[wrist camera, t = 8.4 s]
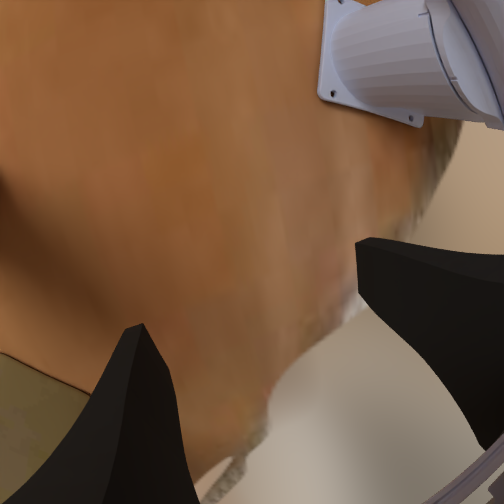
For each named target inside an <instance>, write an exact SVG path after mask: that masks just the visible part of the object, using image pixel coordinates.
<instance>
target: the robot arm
mask: <svg viewBox="0 0 504 504" xmlns="http://www.w3.org/2000/svg"><path fill="white" fill-rule="evenodd" d="M340 1H341V4H340V3H339V2H338V0H325V11H324V24H323V36H322V48H321V59H320V69H319V79H318V89H317V94H318V96H319V97H320V99H322V100H325V101H329V102H333V103H338V104H341V105H345V106H349V107H353V108H356V109H360V110H364V111H367V112H370V113H374V114H377V115H380V116H384V117H387V118H390V119H393V120H396V121H399V122H402V123H405V124H408V125H411V126H414V127H417V128H421V127H422V126H423V122H424V116H429V117H440V118H449V119H457V120H465V121H472V122H485V124H486V126H487V127H488V128H492V129H498V130H503V131H504V0H382V1H379V2H377V3H374V4H371V5H369V6H365V5H363V4H360V3H358V2H356V1H353V0H340ZM331 91H333V93H334V97H331V94H330V93H331ZM409 117H410V120H409ZM355 250H356V262H357V276H358V293H359V294H360V295H361V297H362V298H363V299H364V300H365V302H366V303H367V304H368V305H369V307H370V308H371V309H372V310H373V311H374V312H375V313H376V314H377V315H378V316H379V317H380V318H381V319H382V320H383V321H384V322H385V323H386V324H387V325H388V326H389V327H391V328H392V329H393V330H394V331H395V332H396V333H397V334H398V335H399V336H400V337H401V338H403V339H404V340H405V341H406V342H407V343H408V344H409V345H410V346H411V347H412V348H413V349H414V350H415V351H416V352H417V353H418V354H419V355H420V356H421V357H422V358H423V359H424V360H425V361H426V363H427V364H428V365H429V366H430V367H431V369H432V370H433V371H434V372H435V374H436V375H437V376H438V377H439V379H440V380H441V382H442V383H443V384H444V385H445V387H446V388H447V390H448V391H449V392H450V394H451V395H452V397H453V398H454V400H455V401H456V403H457V405H458V406H459V407H460V409H461V411H462V412H463V414H464V416H465V418H466V419H467V421H468V423H469V425H470V427H471V429H472V430H473V432H474V434H475V436H476V438H477V441H478V443H479V445H480V446H481V447H482V448H483V449H484V450H485V451H486V452H485V453H484V454H482V456H480V457H479V458H478V459H477V460H476V461H475V462H474V463H473V464H472V465H471V466H469V467H468V468H467V469H466V470H465V471H464V472H463V473H461V474H460V475H459V476H458V477H457V478H455V479H454V480H453V481H452V482H451V483H449V484H448V485H447V486H445V487H444V488H443V489H442V490H440V491H439V492H438V493H436V494H435V495H434V496H432V497H431V498H430V499H428V500H427V501H425V502H424V503H423V504H459V503H461V502H462V501H463V500H464V499H465V498H467V497H468V496H469V495H470V494H471V493H472V492H473V491H475V490H476V489H477V488H478V487H479V486H480V485H481V484H482V483H483V482H484V481H485V480H487V479H488V477H490V476H491V475H492V474H493V473H494V472H495V471H496V470H497V468H499V467H500V465H501V464H502V463H503V462H504V255H491V254H476V253H464V252H456V251H450V250H443V249H437V248H431V247H426V246H421V245H415V244H410V243H405V242H400V241H395V240H389V239H382V238H373V237H369V238H366V239H364V240H361V241H359V242H356V243H355ZM488 491H489V492H490V493H491V494H492V495H493V498H492V499H491V500H490V501H489V502H488V503H486V504H504V472H503V473H502V474H501V475H500V476H499V477H498V478H497V479H496V480H495V481H494V482H493V483H492V484H491V486H489V488H488ZM2 504H200V502H199V500H198V497H197V494H196V491H195V488H194V485H193V482H192V479H191V476H190V473H189V470H188V466H187V462H186V458H185V453H184V447H183V441H182V435H181V428H180V421H179V415H178V408H177V401H176V395H175V391H174V387H173V383H172V379H171V375H170V371H169V368H168V367H167V365H166V363H165V361H164V360H163V358H162V356H161V355H160V353H159V351H158V349H157V348H156V346H155V344H154V342H153V340H152V339H151V337H150V335H149V333H148V331H147V329H146V328H145V326H144V324H143V323H142V324H139V325H136V326H133V327H130V328H127V329H125V331H124V332H123V334H122V336H121V338H120V340H119V342H118V344H117V346H116V348H115V350H114V352H113V354H112V356H111V358H110V360H109V362H108V364H107V366H106V368H105V370H104V372H103V374H102V376H101V378H100V380H99V382H98V383H97V385H96V387H95V389H94V391H93V393H92V394H91V396H90V398H89V400H88V402H87V404H86V405H85V407H84V409H83V410H82V412H81V413H80V415H79V417H78V418H77V420H76V421H75V423H74V424H73V426H72V427H71V429H70V430H69V432H68V433H67V434H66V436H65V437H64V438H63V439H62V441H61V442H60V443H59V445H58V446H57V447H56V449H55V450H54V451H53V452H52V454H51V455H50V456H49V458H48V459H47V460H46V461H45V462H44V463H43V464H42V466H41V467H40V468H39V469H38V470H37V471H36V472H35V473H34V474H33V475H32V476H31V477H30V479H29V480H28V481H27V482H26V483H25V484H24V485H22V486H21V487H20V488H19V489H18V490H17V491H16V492H15V493H14V494H12V495H11V496H10V497H9V498H8V499H7V500H6V501H4V502H3V503H2Z"/></svg>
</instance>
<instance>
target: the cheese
mask: <svg viewBox="0 0 504 504" xmlns="http://www.w3.org/2000/svg"><path fill="white" fill-rule="evenodd" d="M89 398H90V396H88V395H87V394H85V393H83V392H81V391H79V390H77V389H75V388H73V387H71V386H68V385H66V384H64V383H62V382H59V381H57V380H55V379H53V378H51V377H48V376H46V375H44V374H42V373H40V372H38V371H36V370H34V369H32V368H30V367H28V366H26V365H24V364H22V363H20V362H18V361H16V360H14V359H12V358H10V357H8V356H6V355H4V354H1V353H0V504H2V503H3V502H4V501H6V500H7V499H8V498H9V497H10V496H11V495H12V494H14V493H15V492H16V491H17V490H18V489H19V488H20V487H21V486H22V485H24V484H25V483H26V482H27V481H28V480H29V479H30V477H31V476H32V475H33V474H34V473H35V472H36V471H37V470H38V469H39V468H40V467H41V466H42V464H43V463H44V462H45V461H46V460H47V459H48V458H49V456H50V455H51V454H52V452H53V451H54V450H55V449H56V447H57V446H58V445H59V443H60V442H61V441H62V439H63V438H64V437H65V436H66V434H67V433H68V432H69V430H70V429H71V427H72V426H73V424H74V423H75V421H76V420H77V418H78V417H79V415H80V413H81V412H82V410H83V409H84V407H85V405H86V404H87V402H88V400H89Z"/></svg>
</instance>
